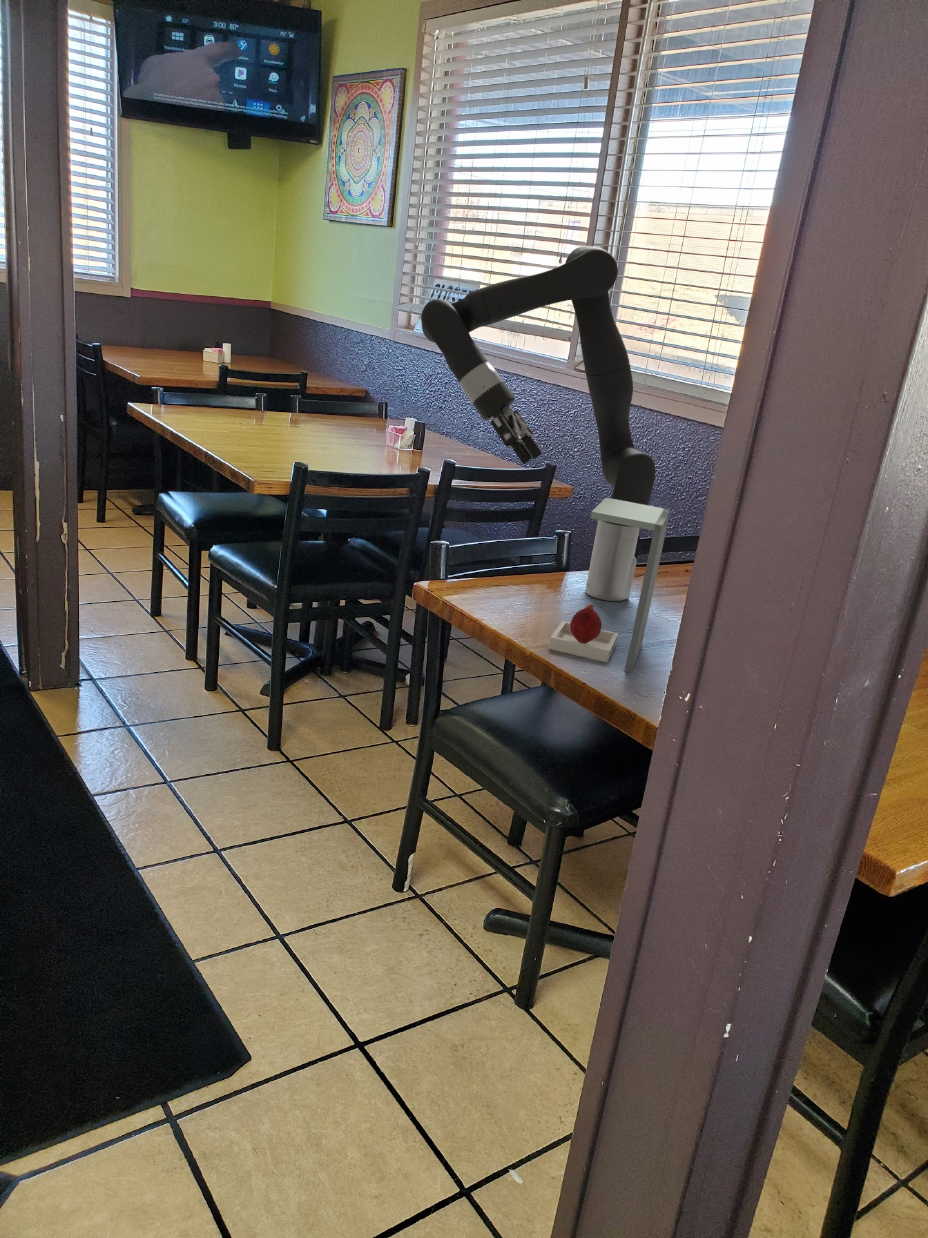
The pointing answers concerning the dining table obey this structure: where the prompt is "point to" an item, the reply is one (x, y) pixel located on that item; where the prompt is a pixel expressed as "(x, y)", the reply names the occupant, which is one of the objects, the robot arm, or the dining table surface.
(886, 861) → the dining table surface
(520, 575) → the dining table surface
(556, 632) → the tray
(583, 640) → the onion
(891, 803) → the dining table surface
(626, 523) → the inverted l bracket
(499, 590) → the dining table surface
